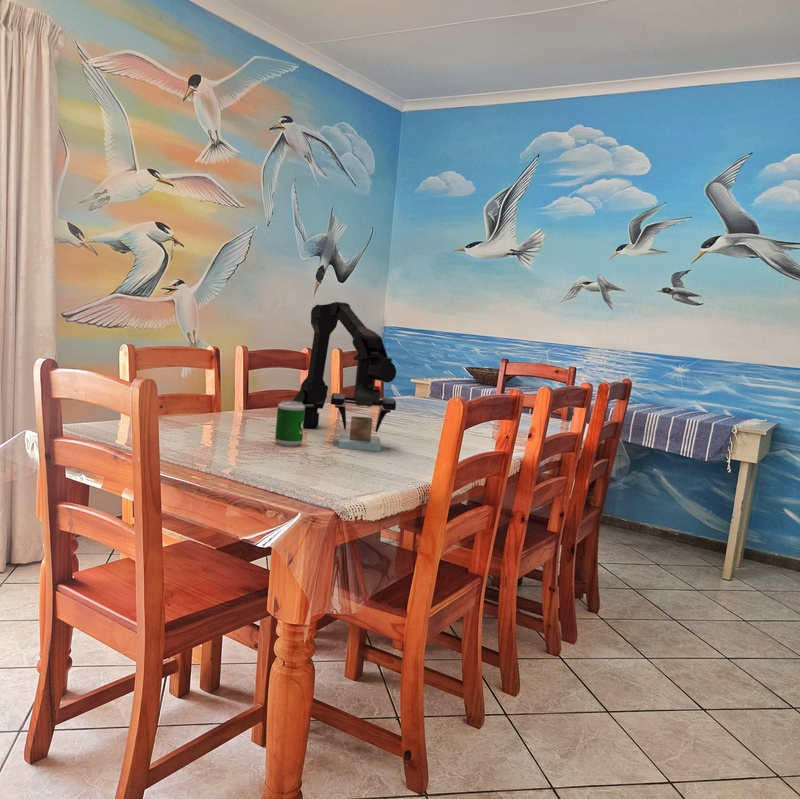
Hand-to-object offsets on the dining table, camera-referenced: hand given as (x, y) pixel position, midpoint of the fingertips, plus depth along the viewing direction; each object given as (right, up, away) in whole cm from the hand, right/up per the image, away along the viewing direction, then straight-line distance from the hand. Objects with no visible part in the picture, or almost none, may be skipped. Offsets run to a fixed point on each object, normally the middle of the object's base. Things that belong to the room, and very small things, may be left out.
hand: (360, 430), depth 202 cm
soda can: (-20, -4, -8) cm, 22 cm away
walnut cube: (0, -2, 0) cm, 2 cm away
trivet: (0, -4, +1) cm, 4 cm away
